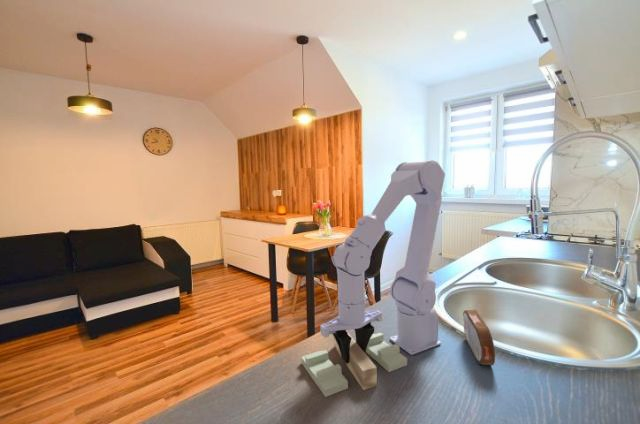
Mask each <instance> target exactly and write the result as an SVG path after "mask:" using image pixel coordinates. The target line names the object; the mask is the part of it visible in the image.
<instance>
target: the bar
mask: <svg viewBox="0 0 640 424" xmlns="http://www.w3.org/2000/svg"><path fill="white" fill-rule="evenodd" d="M346 332H348V330H346ZM348 335H349V336H350V337H351V338H352V339H351V342H350V349H349V353H350V359H349V363H345V364H346V367H347V368H348V370H349V371H350V373H351V374H352V376H354V379H355V380H356V381H357V383H358V384H359V386H360V387H361V390H367V389H370V388H375V387H377V386H378V380H377V379H378V375H377V369H378V367H377V365H376V364H374V362H373V361H372V359H370V357H369V356H368V354H367V353H366V352H365V353H364V351H363V350H362V349H361V348H360V346H359V345H358V344H357V343H356V339H354V338H353V336H352V335H350V333H349V332H348ZM333 346H334V349H335V350H336V352H337V353H338V354H339V356H340V357H341V353H340V349H339V346H338V344H337V342H336V340H335V338H334V337H333Z"/></svg>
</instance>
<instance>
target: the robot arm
mask: <svg viewBox="0 0 640 424" xmlns="http://www.w3.org/2000/svg"><path fill="white" fill-rule="evenodd" d="M445 176H446V173H445V172H444V170H443V168H442V166H441V165H440V163H439V162H438V161H436V160H433V159H429V160H425V161H416V162H415V161H414V162H412V161H411V162H406V161H404V162H400V163H399V164H398V165H397V166H396V168H395V170H394V171H393V172H392V173H391V175H390V182H389V184H388V185H387V187H386V189H385V191H384V192H383V194H382V195H381V197H380V199H379V201H378V202H377V204H376V206H375V207H374V209H373V210H372V212H371V213H370V214H365V215H363V217H362V218H361V217H360V218H358V220H356V221H357V222H356V224H357V225H356V226H355V227H354V229H353V231H352V232H351V234H349V236H348V237H346V239H345V240H344V242H343V243H342V244H339V245H338V246H337V247H336V248H335V249H334V252H333V256H331V262H332V264H333V266H335V268H336V274H337V296H338V297H337V299H338V316H337V317H335V318H333V319H331V320H329V321H327V322H325V323H322V324H320V325H319V327H320V334H321V336H322V337H324V339H325V338H329V336H330V335H332V336H333V339H334V338H335V340H336V342H337V344H338V346H339V349H340V353H341V356H340V358H341V360H342V361H343V362H344V363H345V364H346V363H349V359H350V353H349V349H350V342H351V339H352V338H353V337H352V336H351V335H350V336H351V337H352V338H351V337H350V336H349V335H348V333H349V332H348V330H354V334H355V342H356V343H357V344H358V345H359V346H360V348H361V349H362V350H363V351H364V353H365V354H366V353H367V352H366V348H367V345H368V342H369V340H370V338H371V336H372V334H375V326H373V325H372V323H374V322H382V321H383V313H382V311H380V310H378V309H373V310H366V293H365V289H366V288H365V272H366V271H367V270H368V269H369V267H370V263H371V256H372V254H373V253H372V252H373V250H374V249H375V248H376V245H377V244H378V243H379V241H380V240H381V239H382V236H384V233H385V232H386V224H385V223H386V221H387V220H388V219H389V218H390V216H391V215H392V214H393V212H395V210H396V209H397V208H398V206H399V205H400V204H401V202H403V200H404V199H405V197H407V196H409V197H411V198H412V200H414V202H415V209H414V215H413V219H412V226H411V231H410V236H409V243H408V247H407V251H406V257H405V263H404V266H403V267H402V268H400V269H398V270H397V271H396V273H395V277H394V279H393V281H392V283H391V284H390V289H389V290H390V296H391V298H392V299H393V300H394V301H395V304H394V305H396V324H397V325H396V327H397V328H396V329H397V333H396V335H393V336H390V337H389V340H390V341H391V342H393V343H394V344H397V345H398V346H399V348H401V349H403V350H404V351H405V352H406V353H408V354H410V355H411V356H412V355H413V356H414V355H415V354H419V353H422V352H424V351H426V350H430V349H432V348H434V347H437V346H439V345H441V344H442V342H441V341H440V340H439V316H438V312H437V310H436V309H435V304H436V301H437V299H436V298H437V297H436V296H437V295H436V283H437V282H436V281H435V280H434V278H433V277H432V276H431V273H430V272H429V267H430V264H431V263H430V262H431V257H432V253H433V247H434V242H435V236H436V231H437V226H438V221H439V215H440V210H441V204H442V191H443V186H444V182H445ZM346 331H347V332H346Z"/></svg>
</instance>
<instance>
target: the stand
mask: <svg viewBox="0 0 640 424" xmlns="http://www.w3.org/2000/svg"><path fill="white" fill-rule="evenodd" d="M400 351H401V349H400V346H398V345H397V344H396V343H394V344H392V345H390V344H389V343H387V342H386V340H384V334H383V333H382V332H378V333H373V334H372V336H371V338H370V340H369V342H368V345H367V348H366V352H365V353H366V354H367V355H369V356H370V357H371V358H372V359H373V360H374V361H375V362H377V363H378V364H379V365H380V366H381V367H382V368H384V369H385V370H386V371H387V372H388V373H391V372H394V371H395V370H399V369H401V368H403V367H406V366H408V358H407V357H406V356H405V355H403V354H402V353H400ZM300 358H301V361H300V362H301V364H302V366H303V367H304V368H305V370H306V372H307V373H308V375H309V376H310V377H311V379H312V380H313V381H314V383H315V385H316V386H317V387H318V389H319V391H321V393H322V394H323V396H324V398H328V397H329V396H332V395H334V394H337V393H340V392H342V391H345V390H348V389H349V381H348V380H347V379H346V377H345V375H344V374H342V366H341V364H339V363H336V364H334V363H333V362H332V361H331V360H330V359H329V352H328V350H326V349H324V350H318V351H315V352H311V353H309V354H306V355H303V356H301V357H300Z"/></svg>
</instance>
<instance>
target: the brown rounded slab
mask: <svg viewBox="0 0 640 424" xmlns="http://www.w3.org/2000/svg"><path fill="white" fill-rule="evenodd" d="M462 317H463V331H464V336H465V338H466V339H465V340H466V342H467V344H468V346H469V348H470V350H471V352H472V354H473V356H474V358H475V360H476V361H477V364H479V365H485V366H487V365H489V366H494V365H495V362H496V351H495V344H494V339H493V336H492V333H491V330H490V329H489V326H488V325H487V323H486V321H484V319H483V318H482V316H481V314H480V313H479V312H478V310H477V309H465V310H463V313H462Z"/></svg>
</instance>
